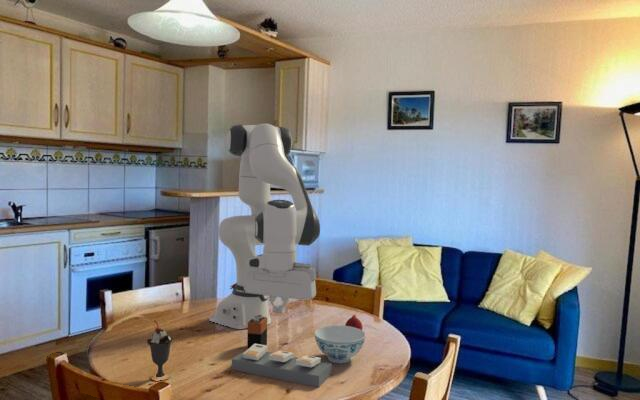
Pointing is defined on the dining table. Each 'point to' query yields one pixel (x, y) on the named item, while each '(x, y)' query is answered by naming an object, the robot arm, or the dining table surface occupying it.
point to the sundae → (160, 348)
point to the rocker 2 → (281, 356)
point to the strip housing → (284, 369)
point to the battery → (257, 331)
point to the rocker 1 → (255, 351)
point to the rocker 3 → (308, 361)
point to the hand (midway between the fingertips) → (279, 312)
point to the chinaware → (339, 342)
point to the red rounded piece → (354, 322)
